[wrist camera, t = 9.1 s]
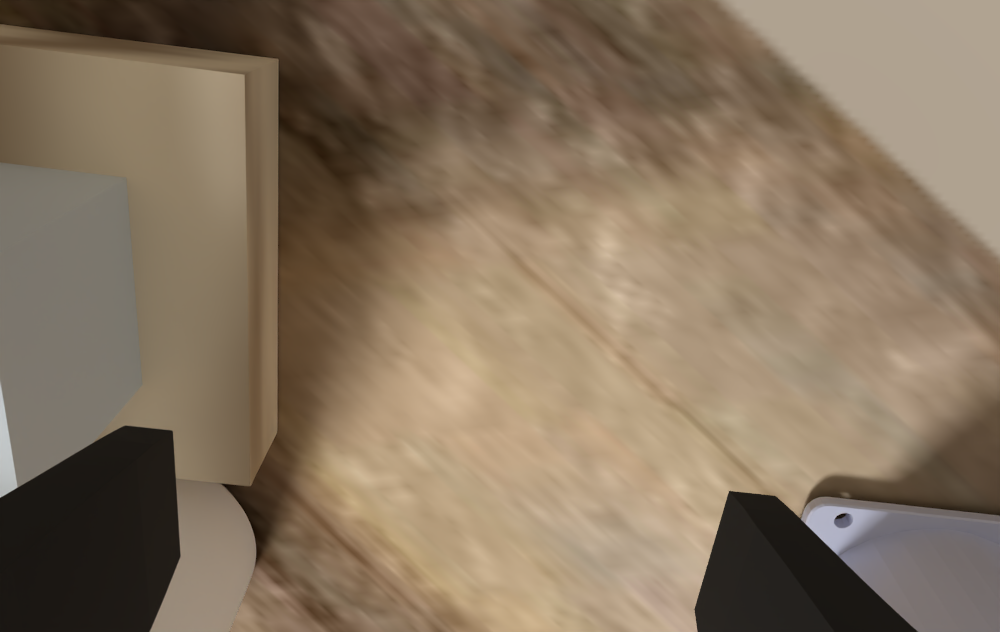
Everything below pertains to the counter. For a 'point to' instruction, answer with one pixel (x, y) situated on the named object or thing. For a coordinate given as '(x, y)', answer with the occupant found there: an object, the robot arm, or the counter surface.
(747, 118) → the counter surface
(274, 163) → the base
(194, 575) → the can
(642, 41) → the counter surface
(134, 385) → the block
